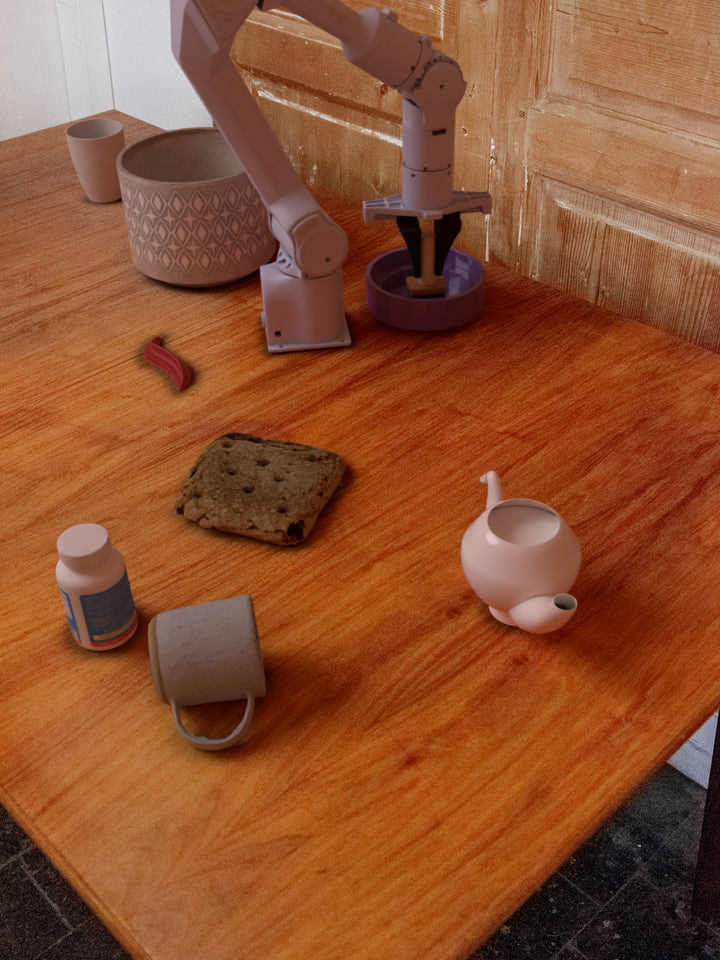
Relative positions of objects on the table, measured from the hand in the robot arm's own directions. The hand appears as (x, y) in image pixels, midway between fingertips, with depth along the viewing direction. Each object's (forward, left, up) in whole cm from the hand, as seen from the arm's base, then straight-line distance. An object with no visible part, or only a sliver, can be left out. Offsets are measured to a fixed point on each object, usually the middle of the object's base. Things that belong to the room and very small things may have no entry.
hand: (426, 273), depth 129 cm
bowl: (0, +1, -5) cm, 5 cm away
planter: (-26, +18, -5) cm, 32 cm away
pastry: (-22, -32, -5) cm, 39 cm away
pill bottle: (-36, -48, -5) cm, 60 cm away
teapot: (-2, -51, -5) cm, 52 cm away
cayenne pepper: (-31, -7, -5) cm, 32 cm away
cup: (-40, +42, -5) cm, 58 cm away
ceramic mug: (-27, -57, -5) cm, 64 cm away
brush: (0, 0, -4) cm, 4 cm away
